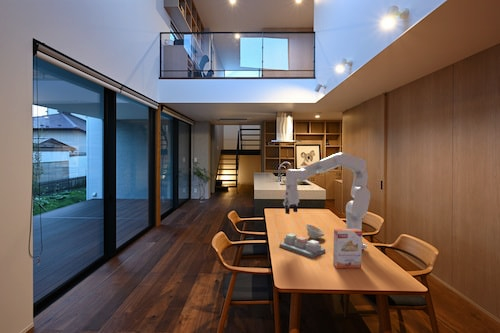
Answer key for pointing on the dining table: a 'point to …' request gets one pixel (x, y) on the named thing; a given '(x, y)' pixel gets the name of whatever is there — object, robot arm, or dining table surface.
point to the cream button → (313, 243)
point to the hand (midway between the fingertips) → (291, 212)
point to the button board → (302, 248)
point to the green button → (291, 236)
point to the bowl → (314, 232)
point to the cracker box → (347, 248)
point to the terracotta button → (301, 239)
